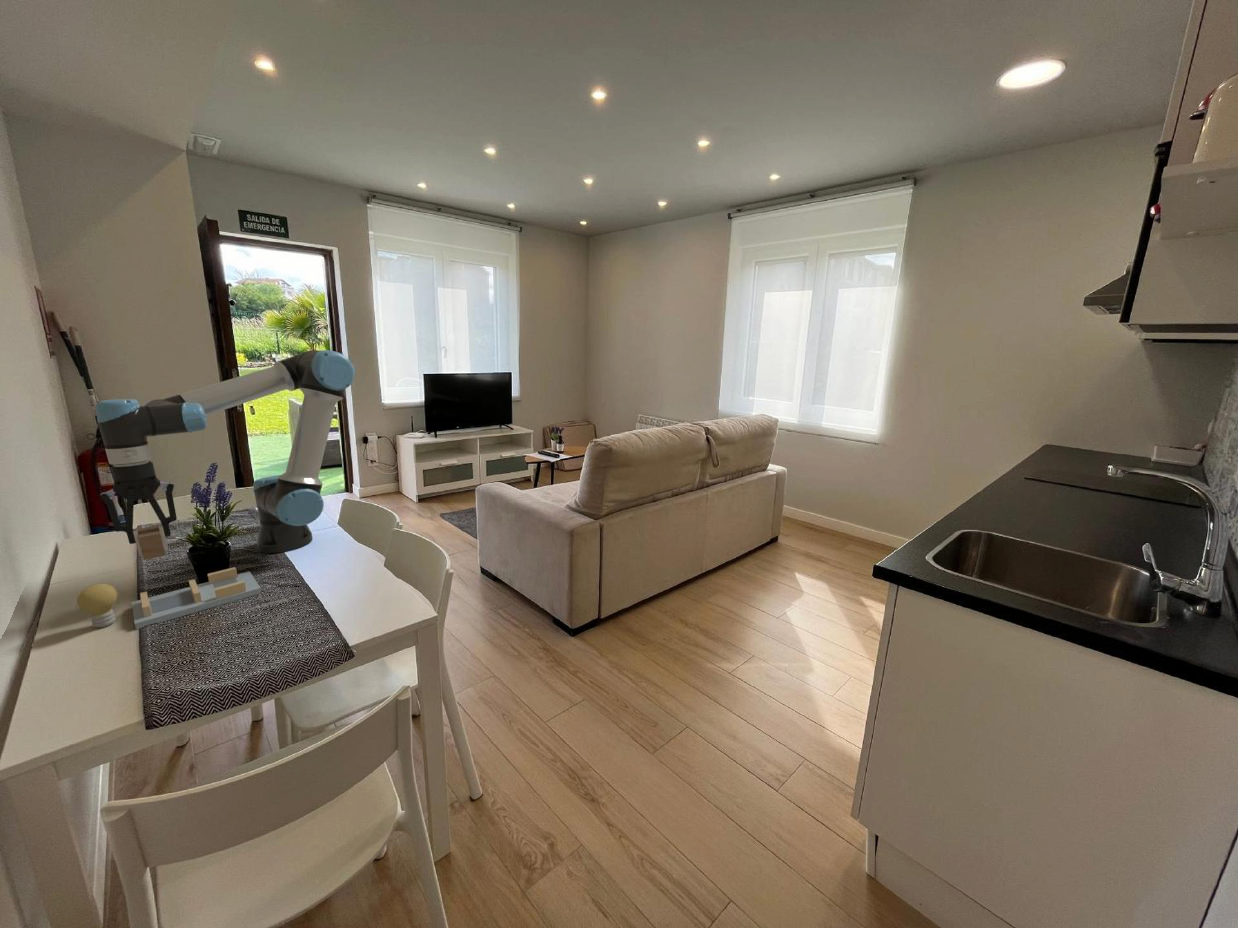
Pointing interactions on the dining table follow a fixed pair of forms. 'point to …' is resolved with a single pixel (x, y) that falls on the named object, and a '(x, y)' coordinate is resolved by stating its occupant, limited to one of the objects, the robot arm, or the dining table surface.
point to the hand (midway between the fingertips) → (153, 551)
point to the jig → (195, 597)
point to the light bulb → (98, 603)
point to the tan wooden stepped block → (151, 542)
